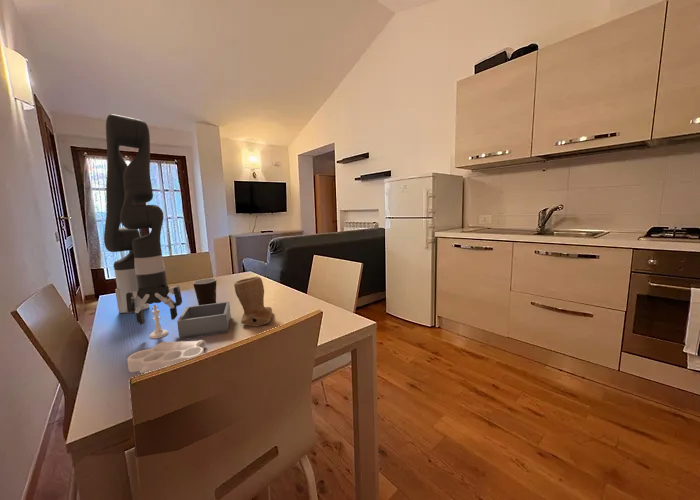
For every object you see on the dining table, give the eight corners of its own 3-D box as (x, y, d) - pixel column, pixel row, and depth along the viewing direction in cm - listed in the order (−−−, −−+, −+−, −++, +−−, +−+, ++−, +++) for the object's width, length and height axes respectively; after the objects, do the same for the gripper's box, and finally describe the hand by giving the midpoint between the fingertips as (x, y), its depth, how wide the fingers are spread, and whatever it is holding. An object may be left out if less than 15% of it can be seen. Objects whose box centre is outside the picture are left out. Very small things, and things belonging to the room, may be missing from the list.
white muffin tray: (217, 347, 84) (192, 376, 69) (153, 350, 83) (114, 381, 69) (216, 336, 83) (190, 363, 69) (151, 339, 83) (112, 367, 68)
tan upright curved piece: (241, 313, 109) (237, 274, 106) (274, 310, 111) (271, 272, 108) (232, 330, 94) (227, 285, 92) (270, 326, 96) (266, 282, 94)
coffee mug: (212, 308, 116) (210, 283, 115) (191, 308, 117) (188, 284, 115) (225, 298, 128) (223, 276, 126) (206, 299, 128) (203, 277, 127)
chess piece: (171, 333, 94) (167, 303, 92) (156, 339, 89) (151, 308, 88) (161, 330, 96) (157, 301, 94) (146, 337, 91) (141, 306, 90)
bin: (179, 340, 88) (177, 321, 87) (188, 323, 101) (186, 306, 100) (227, 332, 92) (226, 314, 92) (230, 317, 105) (229, 301, 104)
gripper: (179, 266, 95) (186, 313, 98) (128, 271, 91) (136, 320, 93) (173, 270, 88) (180, 321, 90) (117, 276, 84) (126, 329, 86)
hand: (158, 321), depth 92 cm, fingers open, 8 cm apart
